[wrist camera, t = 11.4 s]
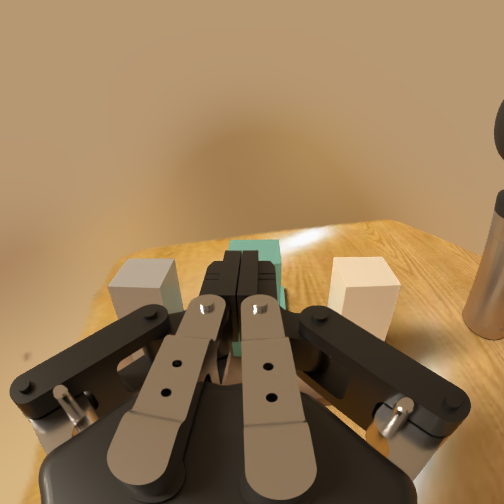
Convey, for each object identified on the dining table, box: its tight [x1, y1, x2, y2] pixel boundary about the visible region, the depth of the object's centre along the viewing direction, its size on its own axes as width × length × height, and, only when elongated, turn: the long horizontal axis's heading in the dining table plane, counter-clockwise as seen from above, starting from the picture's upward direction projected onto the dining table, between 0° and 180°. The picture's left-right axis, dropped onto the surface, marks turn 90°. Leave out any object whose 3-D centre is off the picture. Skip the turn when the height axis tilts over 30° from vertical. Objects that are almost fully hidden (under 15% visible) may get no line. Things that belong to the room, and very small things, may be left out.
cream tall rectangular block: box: [328, 257, 401, 341], centre depth 28 cm, size 5×5×12 cm
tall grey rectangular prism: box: [108, 259, 184, 361], centre depth 29 cm, size 5×5×12 cm
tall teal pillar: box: [228, 240, 281, 357], centre depth 32 cm, size 5×5×12 cm
